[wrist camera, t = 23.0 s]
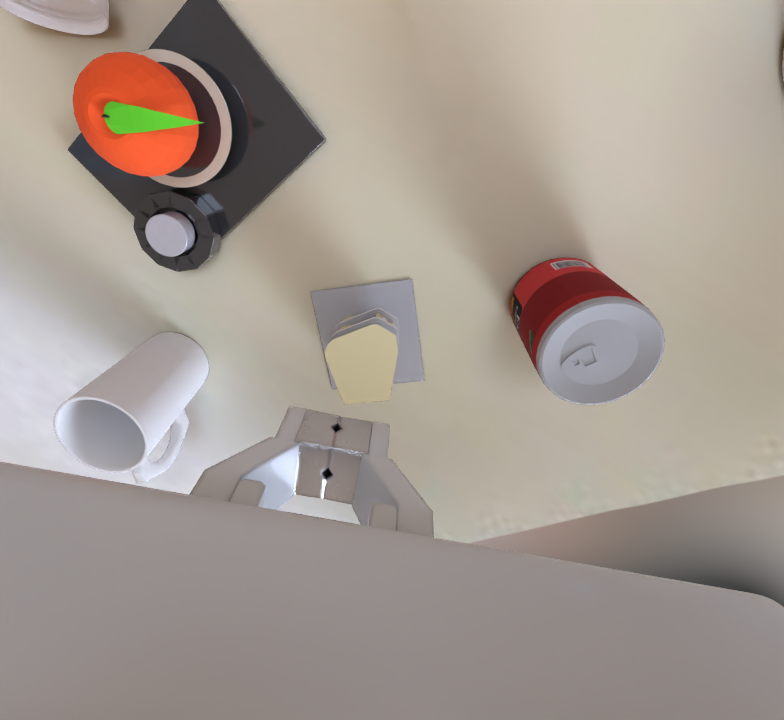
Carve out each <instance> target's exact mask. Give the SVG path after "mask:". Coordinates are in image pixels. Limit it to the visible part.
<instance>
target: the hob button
mask: <svg viewBox="0 0 784 720" xmlns="http://www.w3.org/2000/svg"><path fill="white" fill-rule="evenodd" d="M145 233H146V238H147V240H148V242H149V244H150V245H151V247H152V248H153V249H154V250H155V251H157V252H158V253H160V254H162V255H164V256H168V257H174V256H178V255H180V254H182V253H184V252H186V251H187V250H189V249H190V248H191V247H192V246H193V244H194V242H195V231H194V228H193V226H192V224H191V222H190V221H189V220H188V219H187V218H186V217H185V216H184V215H182V214H180V213H178V212H174V211H167V212H163V213H160V214H157V215H155V216H153V217H151V218H150V219H149V220H148V222H147V224H146V228H145Z"/></svg>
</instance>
